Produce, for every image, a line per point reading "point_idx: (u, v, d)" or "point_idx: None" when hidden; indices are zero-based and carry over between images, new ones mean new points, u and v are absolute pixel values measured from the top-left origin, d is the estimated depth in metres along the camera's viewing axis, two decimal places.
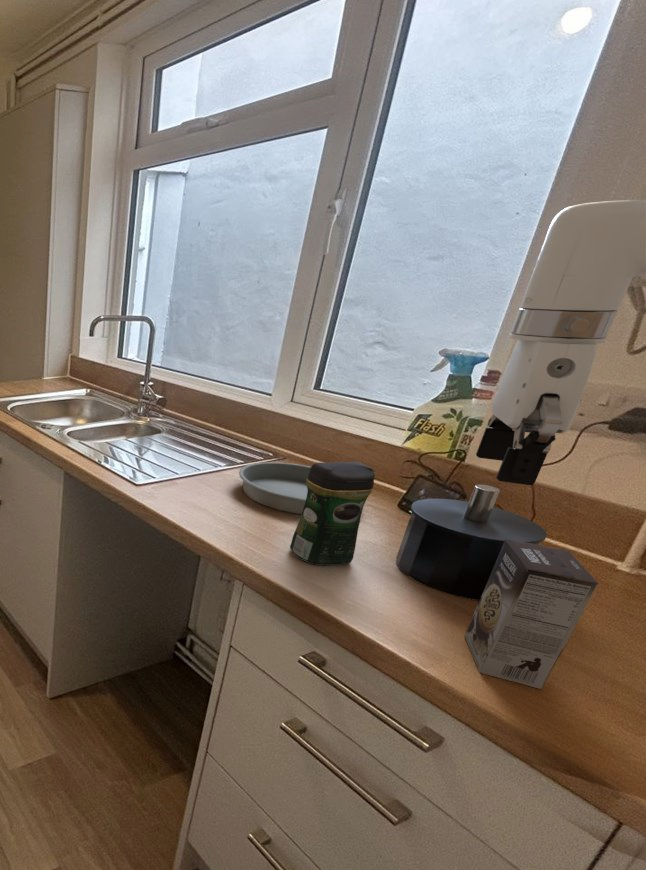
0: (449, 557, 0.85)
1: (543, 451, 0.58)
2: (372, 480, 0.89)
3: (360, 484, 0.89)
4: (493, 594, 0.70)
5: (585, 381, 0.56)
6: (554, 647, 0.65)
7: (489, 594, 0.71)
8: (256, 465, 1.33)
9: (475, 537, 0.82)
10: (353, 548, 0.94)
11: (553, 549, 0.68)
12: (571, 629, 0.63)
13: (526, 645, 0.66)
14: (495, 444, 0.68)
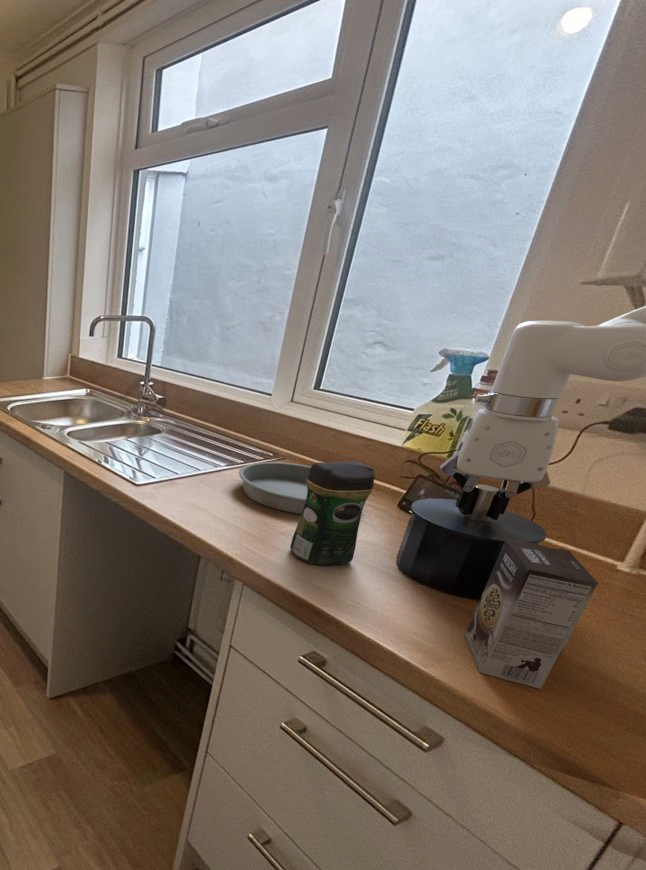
0: (449, 557, 0.85)
1: (464, 490, 0.86)
2: (372, 480, 0.89)
3: (360, 484, 0.89)
4: (493, 594, 0.70)
5: (471, 437, 0.83)
6: (554, 647, 0.65)
7: (489, 594, 0.71)
8: (256, 465, 1.33)
9: (475, 537, 0.82)
10: (353, 548, 0.94)
11: (553, 549, 0.68)
12: (571, 629, 0.63)
13: (526, 645, 0.66)
14: None
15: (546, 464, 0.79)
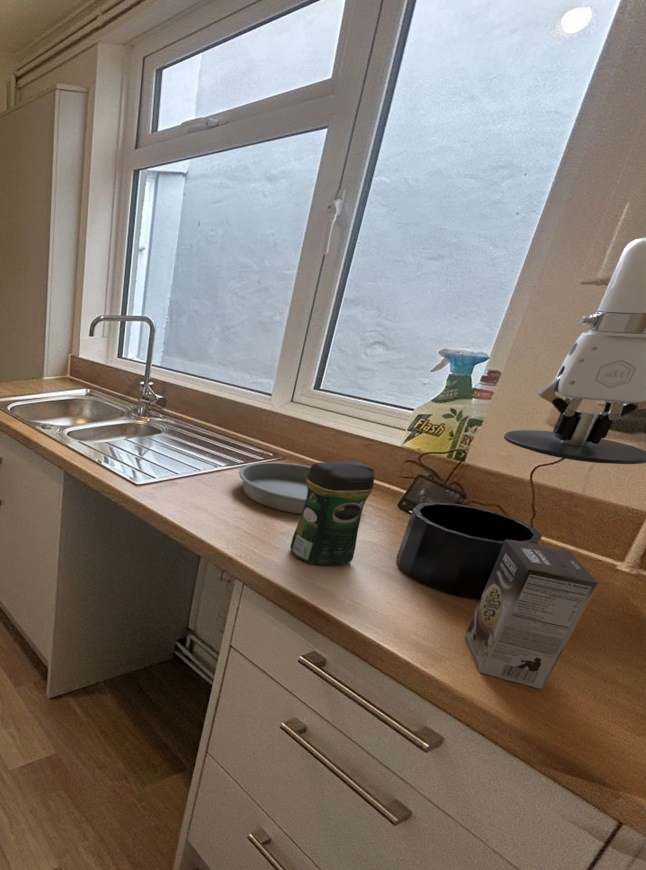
0: (449, 557, 0.85)
1: (564, 415, 0.87)
2: (372, 480, 0.89)
3: (360, 484, 0.89)
4: (493, 594, 0.70)
5: (576, 359, 0.83)
6: (554, 647, 0.65)
7: (489, 594, 0.71)
8: (256, 465, 1.33)
9: (581, 458, 0.82)
10: (353, 548, 0.94)
11: (553, 549, 0.68)
12: (571, 629, 0.63)
13: (526, 645, 0.66)
14: None
15: None
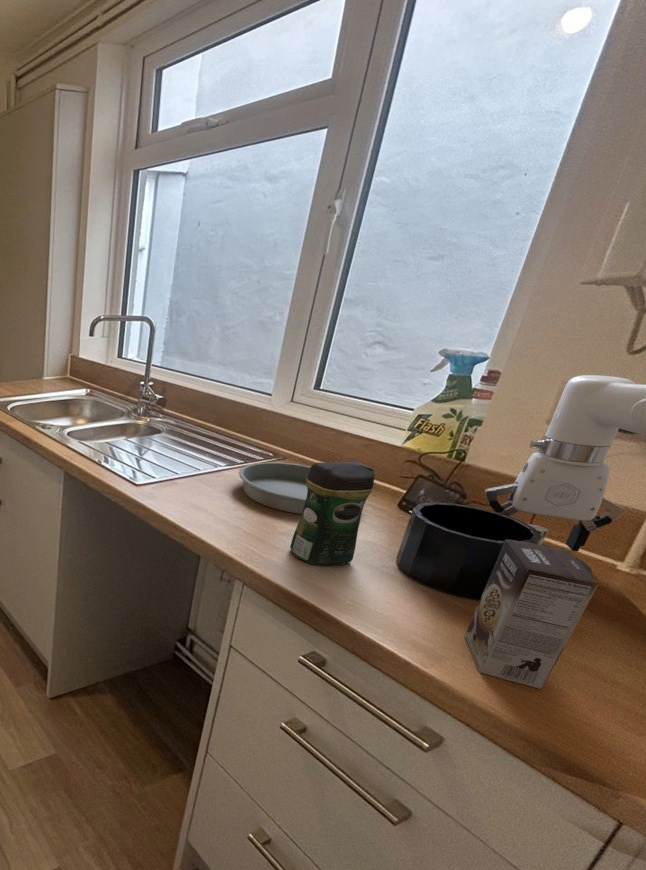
0: (449, 557, 0.85)
1: None
2: (372, 480, 0.89)
3: (360, 484, 0.89)
4: (493, 594, 0.70)
5: (527, 478, 0.90)
6: (554, 647, 0.65)
7: (489, 594, 0.71)
8: (256, 465, 1.33)
9: None
10: (353, 548, 0.94)
11: (553, 549, 0.68)
12: (571, 629, 0.63)
13: (526, 645, 0.66)
14: (572, 536, 0.92)
15: (598, 505, 0.87)
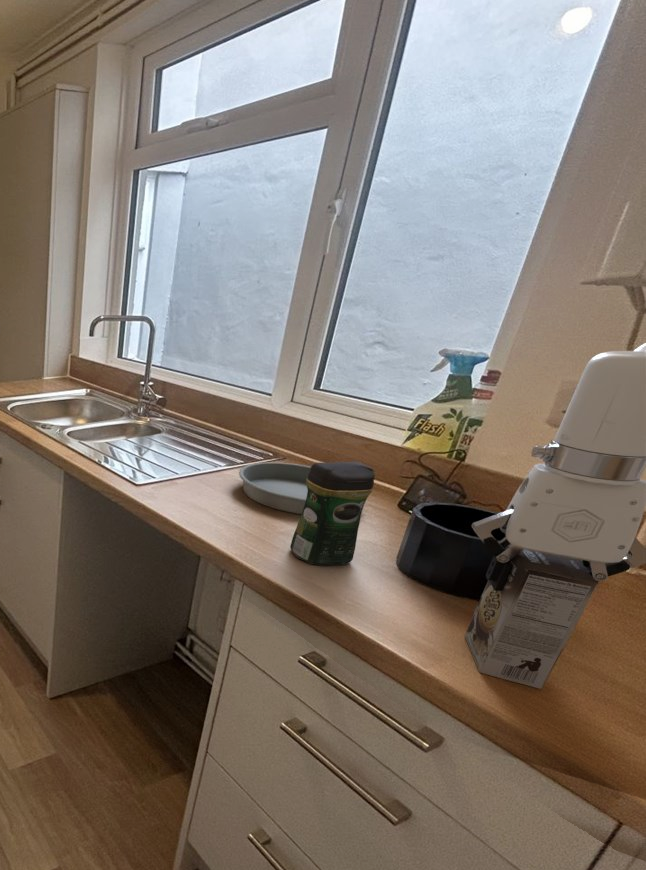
0: (449, 557, 0.85)
1: (497, 559, 0.67)
2: (372, 480, 0.89)
3: (360, 484, 0.89)
4: (493, 594, 0.70)
5: (527, 501, 0.63)
6: (554, 647, 0.65)
7: (489, 594, 0.71)
8: (256, 465, 1.33)
9: None
10: (353, 548, 0.94)
11: None
12: (571, 629, 0.63)
13: (526, 645, 0.66)
14: None
15: (630, 541, 0.59)
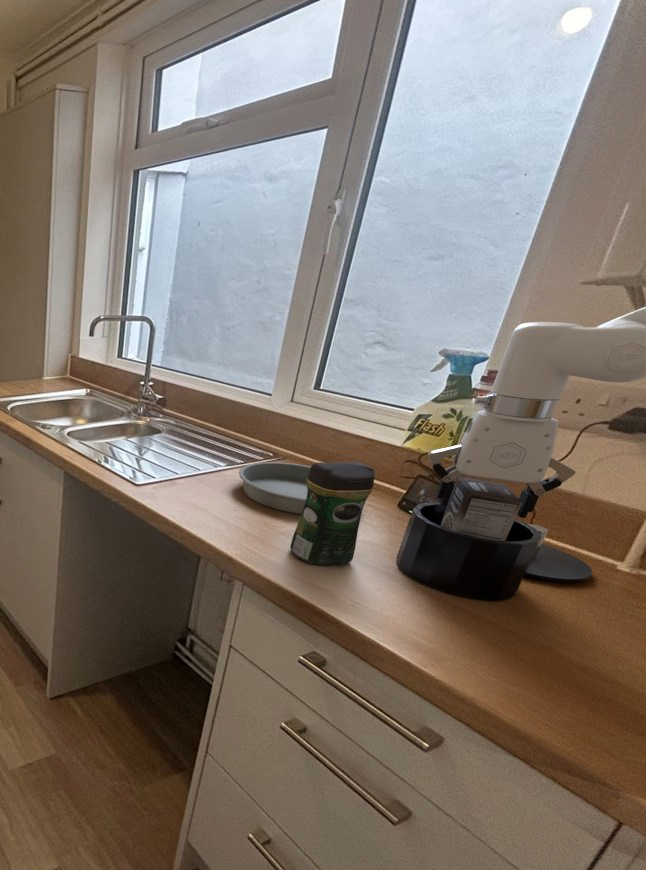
0: (449, 557, 0.85)
1: (442, 479, 0.87)
2: (372, 480, 0.89)
3: (360, 484, 0.89)
4: (448, 519, 0.90)
5: (471, 438, 0.83)
6: None
7: (445, 520, 0.91)
8: (256, 465, 1.33)
9: (527, 574, 0.90)
10: (353, 548, 0.94)
11: (493, 483, 0.88)
12: (503, 540, 0.83)
13: None
14: None
15: (546, 465, 0.79)
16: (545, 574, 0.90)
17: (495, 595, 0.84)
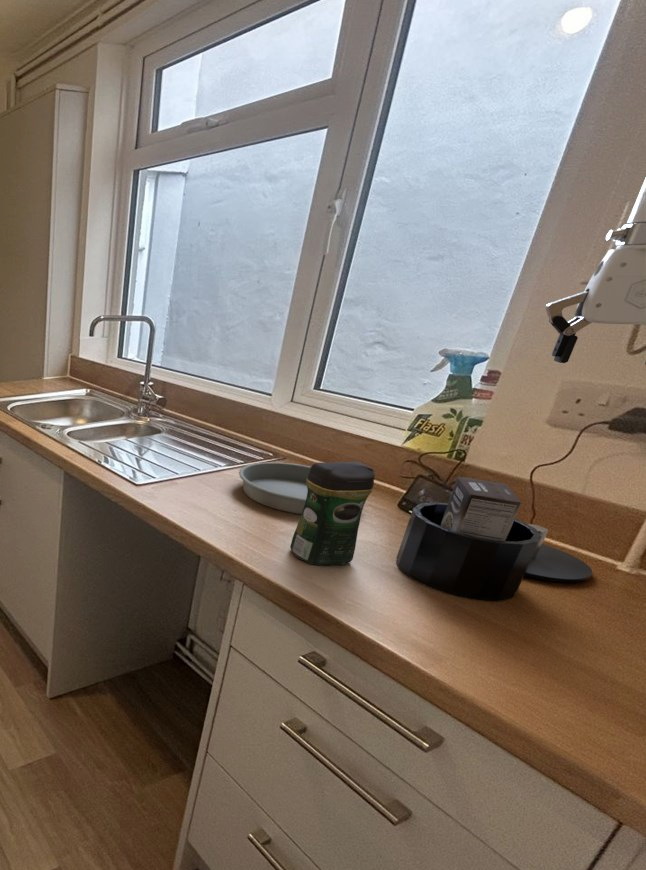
0: (449, 557, 0.85)
1: (562, 332, 0.79)
2: (372, 480, 0.89)
3: (360, 484, 0.89)
4: (448, 519, 0.90)
5: (602, 278, 0.74)
6: None
7: (445, 520, 0.91)
8: (256, 465, 1.33)
9: (527, 574, 0.90)
10: (353, 548, 0.94)
11: (493, 483, 0.88)
12: (503, 540, 0.83)
13: None
14: None
15: None
16: (545, 574, 0.90)
17: (495, 595, 0.84)
